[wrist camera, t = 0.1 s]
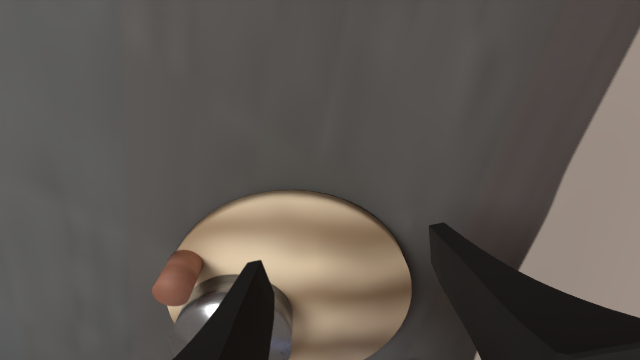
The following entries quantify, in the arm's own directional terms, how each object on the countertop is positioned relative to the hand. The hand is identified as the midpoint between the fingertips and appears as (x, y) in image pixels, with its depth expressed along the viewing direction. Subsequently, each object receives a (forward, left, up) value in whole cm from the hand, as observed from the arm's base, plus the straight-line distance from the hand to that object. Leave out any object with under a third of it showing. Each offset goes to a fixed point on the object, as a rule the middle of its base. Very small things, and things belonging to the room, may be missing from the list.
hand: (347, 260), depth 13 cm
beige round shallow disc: (-11, +6, -10) cm, 16 cm away
